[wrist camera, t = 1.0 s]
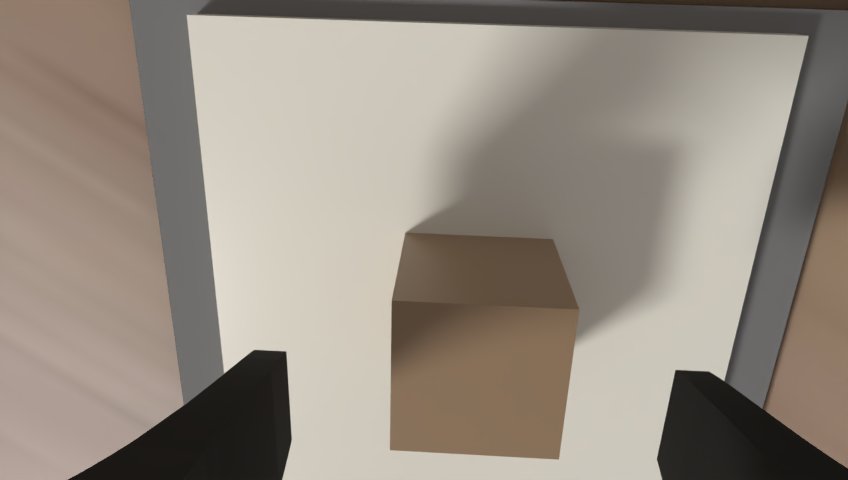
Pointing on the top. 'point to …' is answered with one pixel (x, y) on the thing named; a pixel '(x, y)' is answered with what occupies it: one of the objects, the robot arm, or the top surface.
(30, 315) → the top surface
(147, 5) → the charcoal mat
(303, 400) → the cover sheet
